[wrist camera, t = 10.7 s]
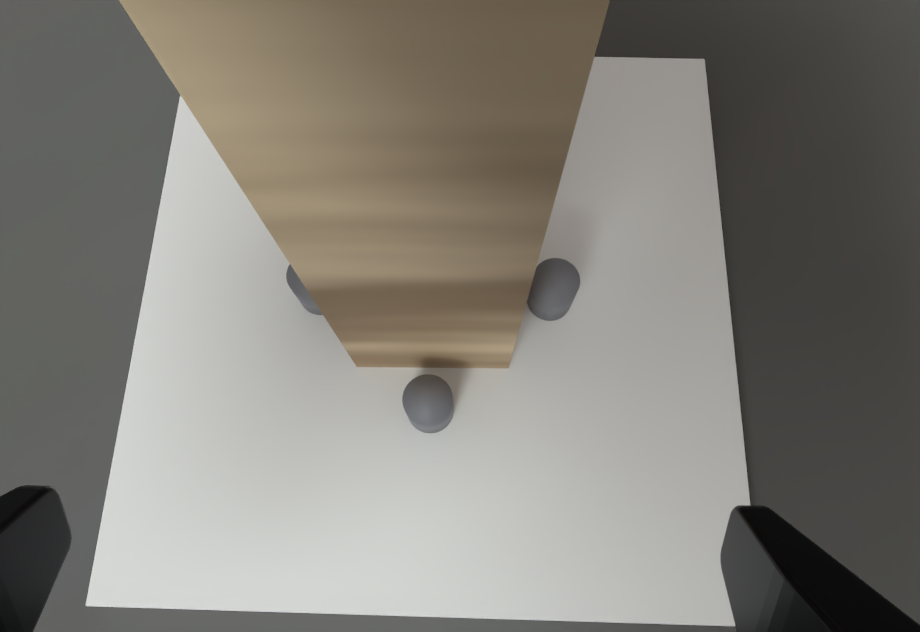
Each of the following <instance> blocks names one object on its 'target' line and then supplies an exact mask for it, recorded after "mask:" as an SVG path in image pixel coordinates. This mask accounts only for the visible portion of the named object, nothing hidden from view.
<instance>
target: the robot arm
mask: <svg viewBox="0 0 920 632" xmlns="http://www.w3.org/2000/svg"><path fill="white" fill-rule="evenodd" d="M71 539H72V535H71V529H70V526H69V523H68V519H67V516H66V513H65V510H64V507H63V504H62V501H61V498H60V495H59V493H58V491H57V490H56V489H55V488H54V487H50V486H33V485H26V486H20V487H17V488H15V489H13V490H12V491H10V492H8V493H6V494H4V495H2V496H0V632H33V630H34V628H35V626H36V624H37V622H38V619H39V617H40V615H41V613H42V610H43V608H44V606H45V604H46V601H47V599H48V597H49V595H50V592H51V590H52V588H53V586H54V583H55V581H56V579H57V577H58V574H59V572H60V570H61V568H62V566H63V563H64V561H65V559H66V557H67V554H68V552H69V549H70V546H71ZM720 563H721V569H722V574H723V578H724V582H725V586H726V590H727V594H728V598H729V602H730V606H731V610H732V614H733V618H734V622H735V626H736V630H737V632H920V625H919V624H918V623H917V622H915V621H914V620H913V619H911V618H910V617H909V616H908V615H906V614H905V613H904V612H902V611H901V610H900V609H899V608H897V607H896V606H895V605H893V604H892V603H891V602H890V601H888V600H887V599H886V598H884V597H883V596H882V595H881V594H879V593H878V592H877V591H875V590H874V589H873V588H872V587H870V586H869V585H868V584H866V583H865V582H864V581H863V580H861V579H860V578H859V577H857V576H856V575H855V574H854V573H852V572H851V571H850V570H848V569H847V568H846V567H845V566H843V565H842V564H841V563H839V562H838V561H837V560H836V559H834V558H833V557H832V556H830V555H829V554H828V553H827V552H825V551H824V550H823V549H821V548H820V547H819V546H818V545H816V544H815V543H814V542H812V541H811V540H810V539H809V538H807V537H806V536H805V535H803V534H802V533H801V532H800V531H798V530H797V529H796V528H794V527H793V526H792V525H791V524H789V523H788V522H787V521H785V520H784V519H783V518H782V517H780V516H779V515H778V514H776V513H775V512H774V511H773V510H771V509H769V508H768V507H765V506H752V505H738V506H736V507H734V508H733V509H732V511H731V513H730V517H729V521H728V524H727V528H726V532H725V536H724V540H723V544H722V548H721V554H720Z"/></svg>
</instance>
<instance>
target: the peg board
mask: <svg viewBox="0 0 920 632" xmlns="http://www.w3.org/2000/svg"><path fill="white" fill-rule="evenodd" d="M738 505H750V497H749V487H748V477H747V467H746V458H745V448H744V438H743V428H742V419H741V409H740V399H739V389H738V380H737V370H736V360H735V350H734V340H733V331H732V321H731V311H730V301H729V292H728V282H727V272H726V262H725V253H724V243H723V233H722V223H721V214H720V204H719V194H718V184H717V175H716V165H715V155H714V145H713V136H712V126H711V116H710V106H709V97H708V87H707V77H706V67H705V59H678V58H627V57H594V60H593V63H592V67H591V71H590V74H589V78H588V82H587V85H586V89H585V93H584V96H583V100H582V103H581V107H580V111H579V114H578V118H577V122H576V125H575V129H574V132H573V136H572V140H571V143H570V147H569V151H568V154H567V158H566V161H565V165H564V169H563V172H562V176H561V180H560V183H559V187H558V190H557V194H556V198H555V201H554V205H553V209H552V212H551V216H550V220H549V223H548V227H547V230H546V234H545V238H544V241H543V245H542V249H541V252H540V256H539V259H538V263H537V267H536V270H535V274H534V278H533V281H532V285H531V288H530V292H529V296H528V299H527V303H526V307H525V310H524V314H523V318H522V321H521V325H520V328H519V332H518V336H517V339H516V343H515V347H514V350H513V354H512V357H511V361H510V365H509V368H406V367H357V366H356V365H355V363H354V362H353V360H352V359H351V357H350V356H349V354H348V353H347V351H346V349H345V348H344V346H343V345H342V343H341V342H340V340H339V339H338V337H337V336H336V334H335V332H334V331H333V329H332V328H331V326H330V325H329V323H328V322H327V320H326V319H325V317H324V316H323V314H322V312H321V311H320V309H319V308H318V306H317V305H316V303H315V302H314V300H313V299H312V297H311V295H310V294H309V292H308V291H307V289H306V288H305V286H304V285H303V283H302V282H301V280H300V279H299V277H298V275H297V274H296V272H295V271H294V269H293V268H292V266H291V265H290V263H289V262H288V260H287V258H286V257H285V255H284V254H283V252H282V251H281V249H280V248H279V246H278V245H277V243H276V242H275V240H274V238H273V237H272V235H271V234H270V232H269V231H268V229H267V228H266V226H265V225H264V223H263V221H262V220H261V218H260V217H259V215H258V214H257V212H256V211H255V209H254V208H253V206H252V205H251V203H250V201H249V200H248V198H247V197H246V195H245V194H244V192H243V191H242V189H241V188H240V186H239V184H238V183H237V181H236V180H235V178H234V177H233V175H232V174H231V172H230V171H229V169H228V168H227V166H226V164H225V163H224V161H223V160H222V158H221V157H220V155H219V154H218V152H217V151H216V149H215V147H214V146H213V144H212V143H211V141H210V140H209V138H208V137H207V135H206V134H205V132H204V130H203V129H202V127H201V126H200V124H199V123H198V121H197V120H196V118H195V117H194V115H193V114H192V112H191V110H190V109H189V107H188V106H187V104H186V103H185V101H184V100H183V98H182V97H181V95H180V100H179V105H178V110H177V116H176V121H175V126H174V132H173V137H172V143H171V148H170V153H169V159H168V164H167V170H166V175H165V180H164V186H163V191H162V197H161V202H160V207H159V213H158V218H157V224H156V229H155V234H154V240H153V245H152V251H151V256H150V261H149V267H148V272H147V277H146V283H145V288H144V294H143V299H142V304H141V310H140V315H139V321H138V326H137V331H136V337H135V342H134V348H133V353H132V358H131V364H130V369H129V375H128V380H127V385H126V391H125V396H124V401H123V407H122V412H121V418H120V423H119V428H118V434H117V439H116V445H115V450H114V455H113V461H112V466H111V472H110V477H109V482H108V488H107V493H106V499H105V504H104V509H103V515H102V520H101V525H100V531H99V536H98V542H97V547H96V552H95V558H94V563H93V569H92V574H91V579H90V585H89V590H88V596H87V601H86V606H101V607H133V608H165V609H197V610H229V611H261V612H293V613H325V614H357V615H390V616H422V617H454V618H486V619H518V620H550V621H582V622H614V623H646V624H678V625H711V626H735V622H734V618H733V614H732V610H731V606H730V602H729V598H728V594H727V590H726V586H725V582H724V578H723V574H722V569H721V563H720V554H721V548H722V544H723V540H724V536H725V532H726V528H727V524H728V521H729V517H730V513H731V511H732V509H733V508H734V507H736V506H738Z"/></svg>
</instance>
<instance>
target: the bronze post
mask: <svg viewBox="0 0 920 632" xmlns="http://www.w3.org/2000/svg"><path fill="white" fill-rule="evenodd" d="M119 1H120V3H121V4H122V6H123V7H124V9H125V10H126V12H127V13H128V15H129V16H130V18H131V19H132V21H133V23H134V24H135V26H136V27H137V29H138V30H139V32H140V33H141V35H142V36H143V38H144V40H145V41H146V43H147V44H148V46H149V47H150V49H151V50H152V52H153V53H154V55H155V56H156V58H157V60H158V61H159V63H160V64H161V66H162V67H163V69H164V70H165V72H166V73H167V75H168V77H169V78H170V80H171V81H172V83H173V84H174V86H175V87H176V89H177V90H178V92H179V93H180V95H181V97H182V98H183V100H184V101H185V103H186V104H187V106H188V107H189V109H190V110H191V112H192V114H193V115H194V117H195V118H196V120H197V121H198V123H199V124H200V126H201V127H202V129H203V130H204V132H205V134H206V135H207V137H208V138H209V140H210V141H211V143H212V144H213V146H214V147H215V149H216V151H217V152H218V154H219V155H220V157H221V158H222V160H223V161H224V163H225V164H226V166H227V168H228V169H229V171H230V172H231V174H232V175H233V177H234V178H235V180H236V181H237V183H238V184H239V186H240V188H241V189H242V191H243V192H244V194H245V195H246V197H247V198H248V200H249V201H250V203H251V205H252V206H253V208H254V209H255V211H256V212H257V214H258V215H259V217H260V218H261V220H262V221H263V223H264V225H265V226H266V228H267V229H268V231H269V232H270V234H271V235H272V237H273V238H274V240H275V242H276V243H277V245H278V246H279V248H280V249H281V251H282V252H283V254H284V255H285V257H286V258H287V260H288V262H289V263H290V265H291V266H292V268H293V269H294V271H295V272H296V274H297V275H298V277H299V279H300V280H301V282H302V283H303V285H304V286H305V288H306V289H307V291H308V292H309V294H310V295H311V297H312V299H313V300H314V302H315V303H316V305H317V306H318V308H319V309H320V311H321V312H322V314H323V316H324V317H325V319H326V320H327V322H328V323H329V325H330V326H331V328H332V329H333V331H334V332H335V334H336V336H337V337H338V339H339V340H340V342H341V343H342V345H343V346H344V348H345V349H346V351H347V353H348V354H349V356H350V357H351V359H352V360H353V362H354V363H355V365H356V366H357V367H406V368H509V365H510V361H511V357H512V354H513V350H514V347H515V343H516V339H517V336H518V332H519V328H520V325H521V321H522V318H523V314H524V310H525V307H526V303H527V299H528V296H529V292H530V288H531V285H532V281H533V278H534V274H535V270H536V267H537V263H538V259H539V256H540V252H541V249H542V245H543V241H544V238H545V234H546V230H547V227H548V223H549V220H550V216H551V212H552V209H553V205H554V201H555V198H556V194H557V190H558V187H559V183H560V180H561V176H562V172H563V169H564V165H565V161H566V158H567V154H568V151H569V147H570V143H571V140H572V136H573V132H574V129H575V125H576V122H577V118H578V114H579V111H580V107H581V103H582V100H583V96H584V93H585V89H586V85H587V82H588V78H589V74H590V71H591V67H592V63H593V60H594V56H595V53H596V49H597V45H598V42H599V38H600V34H601V31H602V27H603V24H604V20H605V16H606V13H607V9H608V5H609V2H610V0H119Z"/></svg>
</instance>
